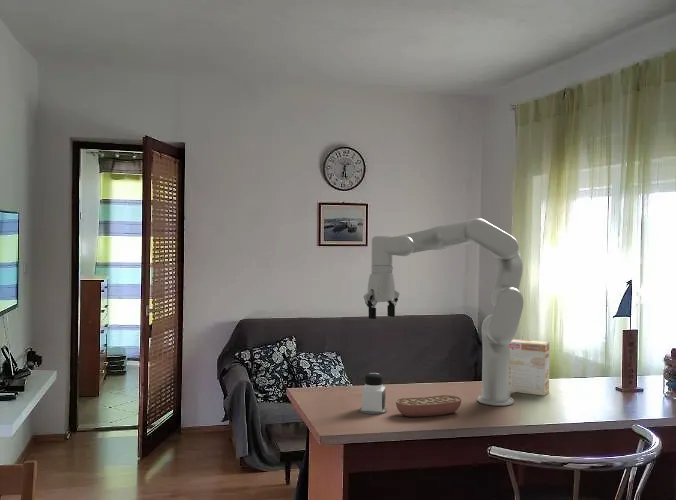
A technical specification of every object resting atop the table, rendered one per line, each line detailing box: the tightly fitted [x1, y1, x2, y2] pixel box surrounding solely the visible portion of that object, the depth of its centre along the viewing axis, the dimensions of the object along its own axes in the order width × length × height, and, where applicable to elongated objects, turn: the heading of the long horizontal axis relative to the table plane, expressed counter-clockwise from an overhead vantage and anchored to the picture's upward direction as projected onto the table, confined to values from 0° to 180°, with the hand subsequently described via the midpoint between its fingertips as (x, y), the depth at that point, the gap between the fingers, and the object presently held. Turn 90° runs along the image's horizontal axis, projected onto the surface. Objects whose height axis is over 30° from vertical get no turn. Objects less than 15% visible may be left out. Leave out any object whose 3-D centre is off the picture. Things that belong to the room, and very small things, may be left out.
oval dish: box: [395, 394, 462, 418], centre depth 218 cm, size 23×10×5 cm, turn 107°
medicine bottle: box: [361, 372, 386, 412], centre depth 222 cm, size 7×7×12 cm
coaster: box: [359, 406, 387, 415], centre depth 222 cm, size 9×9×1 cm
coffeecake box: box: [509, 338, 550, 397], centre depth 250 cm, size 15×7×20 cm, turn 58°
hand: (381, 317), depth 235 cm, fingers open, 9 cm apart
